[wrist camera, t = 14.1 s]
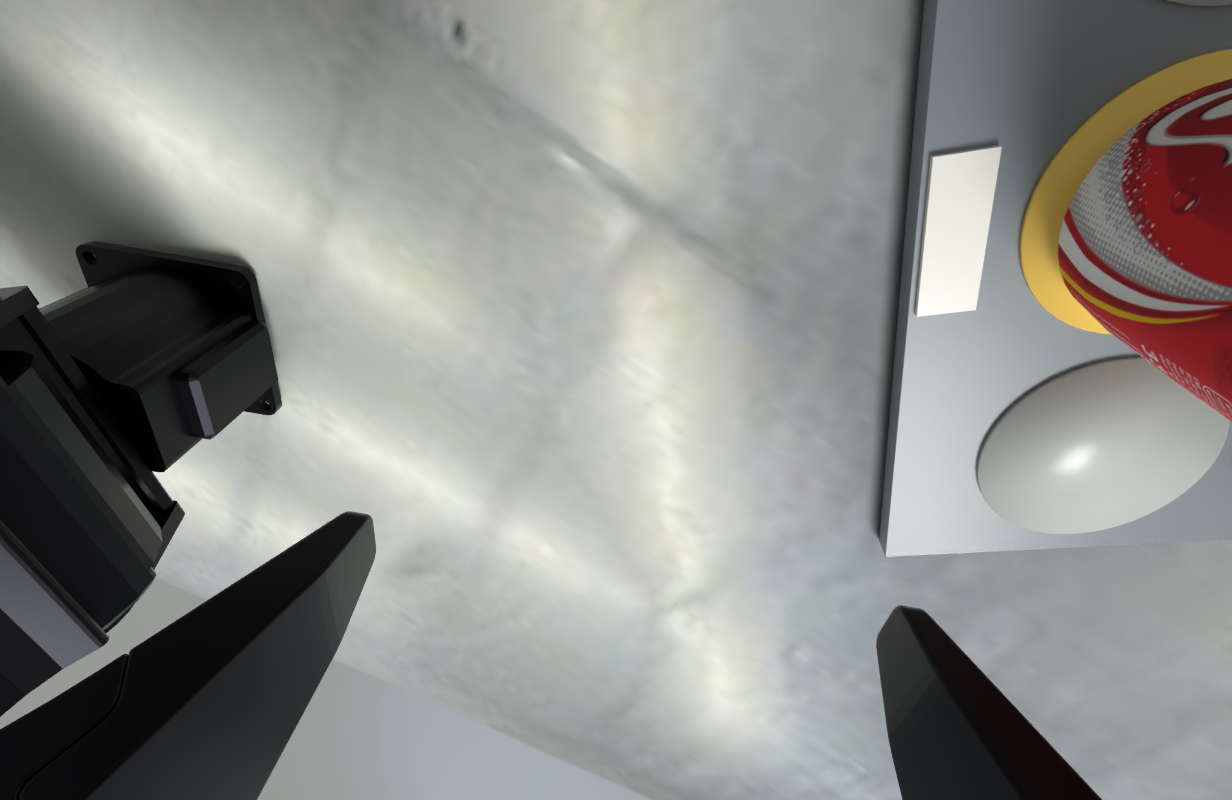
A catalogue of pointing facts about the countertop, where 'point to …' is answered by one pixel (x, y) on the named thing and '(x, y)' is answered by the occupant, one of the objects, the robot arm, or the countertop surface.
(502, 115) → the countertop surface
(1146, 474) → the control panel
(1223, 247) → the soda can
